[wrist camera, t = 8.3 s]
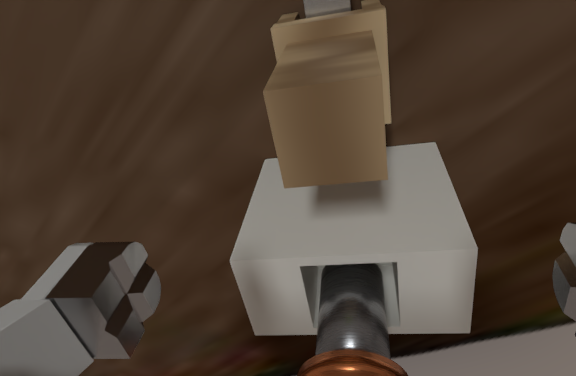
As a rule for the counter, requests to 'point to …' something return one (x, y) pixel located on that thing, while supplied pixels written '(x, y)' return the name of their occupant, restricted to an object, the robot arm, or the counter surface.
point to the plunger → (352, 325)
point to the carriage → (330, 97)
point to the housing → (359, 246)
